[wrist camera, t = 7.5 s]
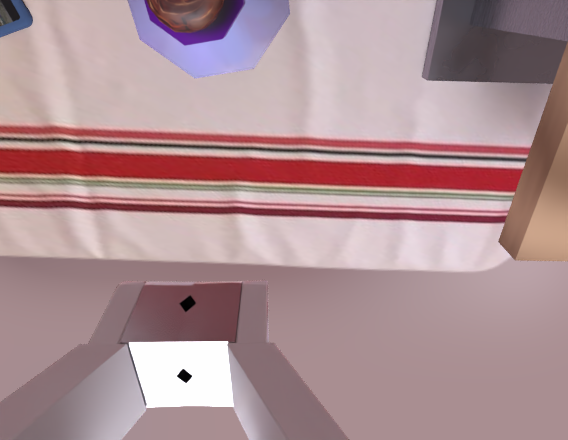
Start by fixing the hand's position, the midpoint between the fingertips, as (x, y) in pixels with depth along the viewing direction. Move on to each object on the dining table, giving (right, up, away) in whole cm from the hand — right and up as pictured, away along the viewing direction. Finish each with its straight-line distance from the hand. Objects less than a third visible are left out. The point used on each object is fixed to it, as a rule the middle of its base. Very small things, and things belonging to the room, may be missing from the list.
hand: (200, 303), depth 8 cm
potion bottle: (-2, +17, +17) cm, 24 cm away
